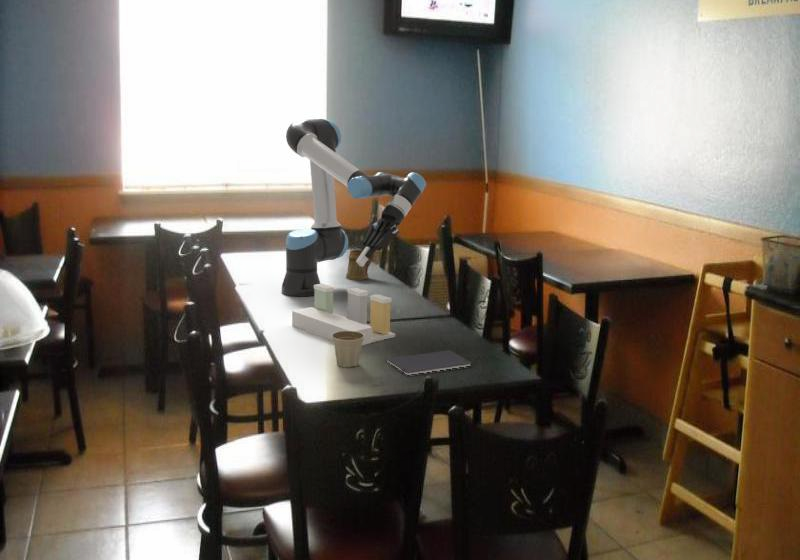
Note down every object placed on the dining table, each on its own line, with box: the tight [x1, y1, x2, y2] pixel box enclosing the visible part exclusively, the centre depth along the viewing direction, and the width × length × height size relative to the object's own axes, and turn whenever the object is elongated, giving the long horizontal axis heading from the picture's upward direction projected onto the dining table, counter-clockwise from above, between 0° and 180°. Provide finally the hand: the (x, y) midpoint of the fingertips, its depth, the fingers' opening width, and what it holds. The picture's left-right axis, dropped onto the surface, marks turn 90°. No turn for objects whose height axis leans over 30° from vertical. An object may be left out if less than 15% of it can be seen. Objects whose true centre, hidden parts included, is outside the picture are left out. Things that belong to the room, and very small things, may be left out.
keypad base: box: [291, 306, 396, 346], centre depth 263 cm, size 18×30×5 cm, turn 44°
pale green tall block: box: [313, 283, 335, 314], centre depth 270 cm, size 3×6×11 cm, turn 44°
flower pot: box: [331, 331, 365, 368], centre depth 232 cm, size 9×9×9 cm
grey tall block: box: [346, 287, 369, 325], centre depth 266 cm, size 3×6×11 cm, turn 44°
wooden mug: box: [345, 249, 374, 281], centre depth 337 cm, size 9×14×18 cm, turn 99°
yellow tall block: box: [369, 293, 393, 334], centre depth 259 cm, size 3×6×11 cm, turn 44°
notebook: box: [385, 349, 472, 376], centre depth 235 cm, size 13×2×21 cm
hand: (359, 264), depth 277 cm, fingers closed
